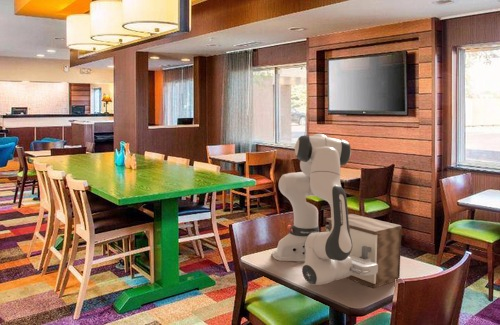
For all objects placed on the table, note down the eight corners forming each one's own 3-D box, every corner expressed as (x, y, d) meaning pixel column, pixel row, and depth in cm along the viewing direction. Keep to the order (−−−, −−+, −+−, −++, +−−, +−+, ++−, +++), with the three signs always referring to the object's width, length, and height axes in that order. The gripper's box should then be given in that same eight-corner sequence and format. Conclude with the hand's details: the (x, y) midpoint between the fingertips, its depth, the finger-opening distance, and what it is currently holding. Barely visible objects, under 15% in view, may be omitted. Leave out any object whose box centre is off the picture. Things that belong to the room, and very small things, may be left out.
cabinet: (373, 288, 182) (375, 231, 179) (324, 269, 203) (325, 218, 200) (399, 279, 191) (401, 225, 188) (350, 262, 212) (351, 213, 209)
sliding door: (367, 286, 180) (368, 236, 178) (342, 276, 190) (343, 229, 188) (375, 283, 183) (377, 234, 180) (350, 273, 193) (351, 227, 191)
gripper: (363, 265, 165) (388, 257, 173) (321, 250, 181) (346, 244, 189) (362, 282, 166) (388, 274, 174) (321, 266, 182) (346, 260, 190)
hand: (366, 259), depth 182 cm, fingers closed on sliding door, 2 cm apart
